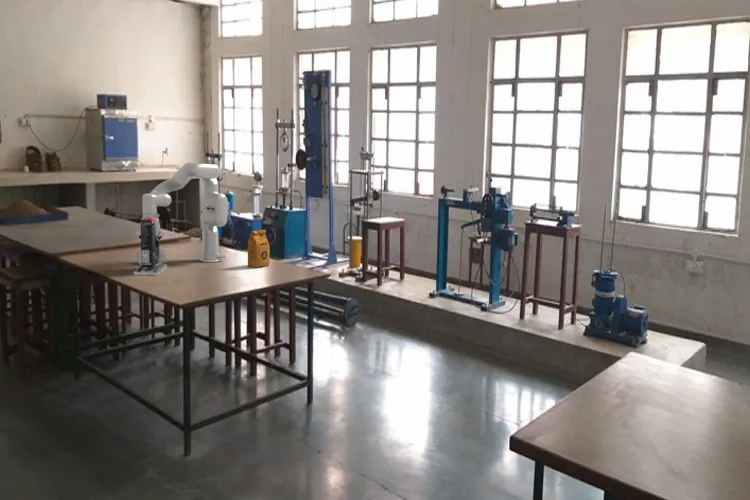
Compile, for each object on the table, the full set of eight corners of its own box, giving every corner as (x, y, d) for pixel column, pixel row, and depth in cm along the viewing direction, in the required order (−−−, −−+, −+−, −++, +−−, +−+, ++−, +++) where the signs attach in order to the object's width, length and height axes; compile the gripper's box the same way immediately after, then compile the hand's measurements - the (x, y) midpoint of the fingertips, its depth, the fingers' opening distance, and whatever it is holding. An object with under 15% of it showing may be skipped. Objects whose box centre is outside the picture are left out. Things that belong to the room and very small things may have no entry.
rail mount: (167, 267, 398) (166, 261, 397) (158, 275, 376) (158, 269, 376) (144, 266, 397) (144, 260, 396) (134, 274, 375) (133, 268, 375)
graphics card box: (148, 261, 394) (146, 215, 389) (160, 261, 395) (159, 215, 390) (141, 268, 378) (139, 219, 373) (154, 268, 378) (152, 219, 373)
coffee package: (272, 266, 411) (272, 230, 407) (255, 269, 402) (256, 232, 398) (261, 263, 418) (261, 228, 414) (245, 266, 408) (245, 230, 405)
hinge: (139, 265, 401) (137, 248, 402) (137, 266, 404) (134, 249, 405) (167, 262, 410) (165, 246, 411) (164, 263, 414) (162, 247, 415)
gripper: (167, 215, 385) (167, 246, 388) (135, 214, 384) (136, 245, 387) (164, 217, 378) (164, 248, 381) (132, 216, 376) (133, 248, 380)
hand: (150, 247), depth 384 cm, fingers closed on graphics card box, 6 cm apart
